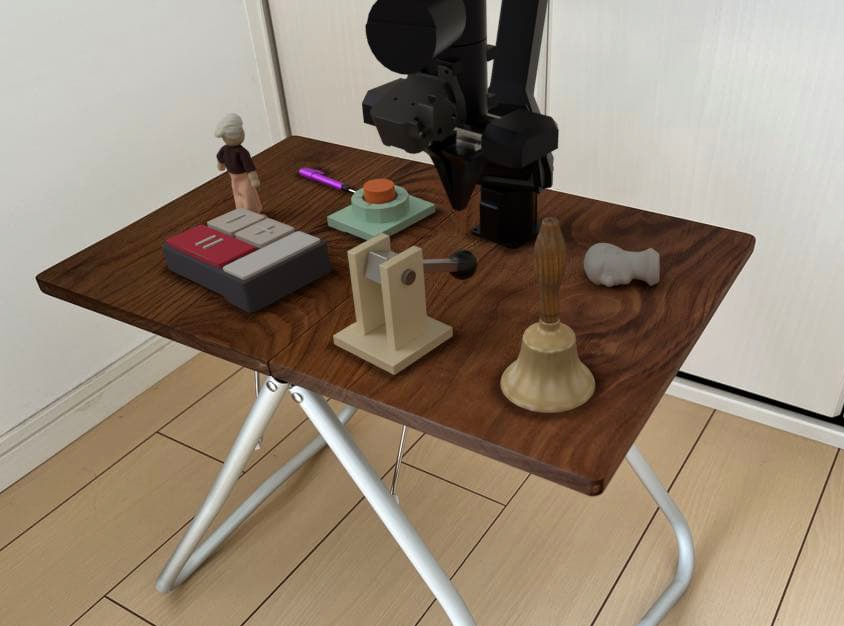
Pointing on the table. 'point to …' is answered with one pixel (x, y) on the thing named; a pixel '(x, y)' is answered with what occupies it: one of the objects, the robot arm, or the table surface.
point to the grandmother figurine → (238, 163)
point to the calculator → (247, 258)
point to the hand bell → (548, 341)
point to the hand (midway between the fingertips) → (459, 209)
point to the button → (379, 191)
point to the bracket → (390, 310)
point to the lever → (427, 264)
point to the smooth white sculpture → (621, 265)
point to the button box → (380, 215)
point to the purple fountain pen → (323, 179)
